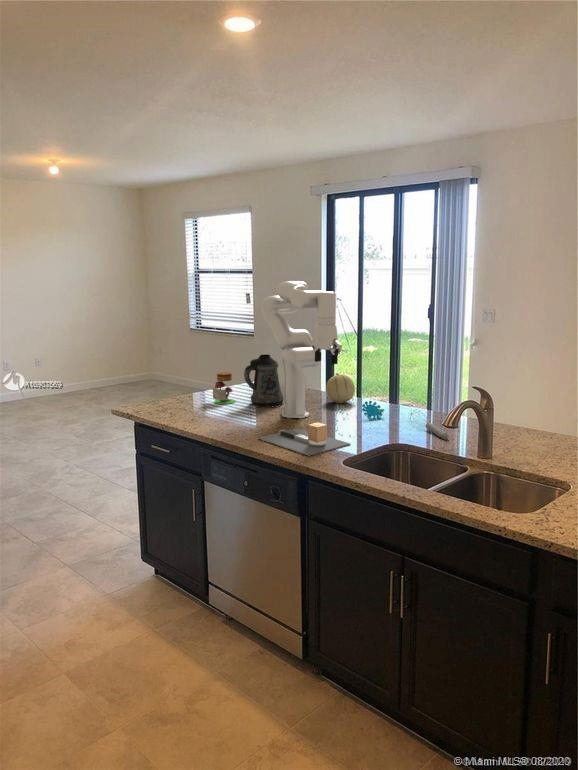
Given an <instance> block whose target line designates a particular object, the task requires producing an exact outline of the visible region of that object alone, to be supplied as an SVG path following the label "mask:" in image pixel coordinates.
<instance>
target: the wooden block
mask: <svg viewBox="0 0 578 770" xmlns="http://www.w3.org/2000/svg"><path fill="white" fill-rule="evenodd" d="M327 426H328V425H327V424H326V423H325V424H324V423H322V422H314V423H308V424H307V431H308V440H310V441H313V442H317V443H318V442H321V441H325V440H327V437H328V435H327V434H328V433H327V429H328V428H327Z"/></svg>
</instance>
